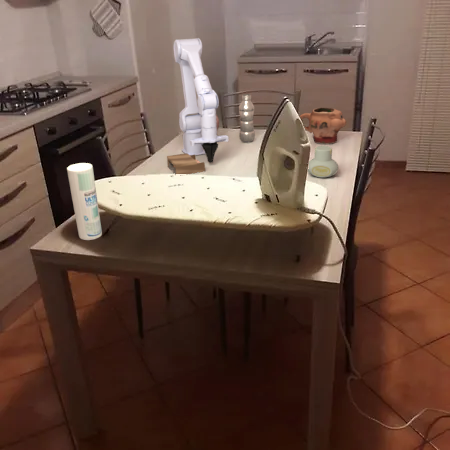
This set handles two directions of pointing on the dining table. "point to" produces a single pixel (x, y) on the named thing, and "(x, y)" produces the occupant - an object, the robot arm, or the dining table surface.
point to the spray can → (85, 200)
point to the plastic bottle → (246, 119)
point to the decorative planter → (324, 124)
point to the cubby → (184, 164)
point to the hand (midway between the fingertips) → (210, 161)
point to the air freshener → (323, 163)
